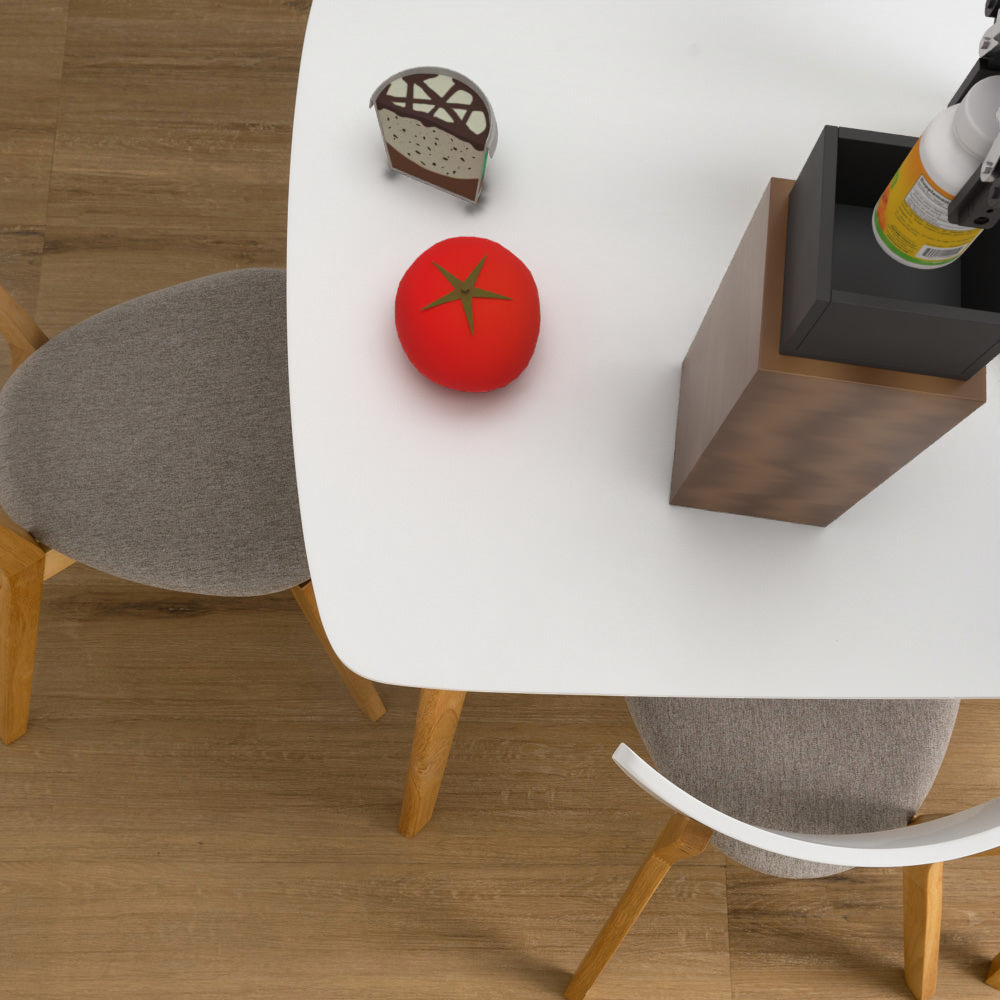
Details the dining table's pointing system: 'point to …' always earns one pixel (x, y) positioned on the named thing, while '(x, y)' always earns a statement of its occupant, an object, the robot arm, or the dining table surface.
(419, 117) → the food container
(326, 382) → the dining table surface
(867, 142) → the dark grey open box
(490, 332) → the tomato
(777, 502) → the stand
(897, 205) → the supplement bottle
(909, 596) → the dining table surface
